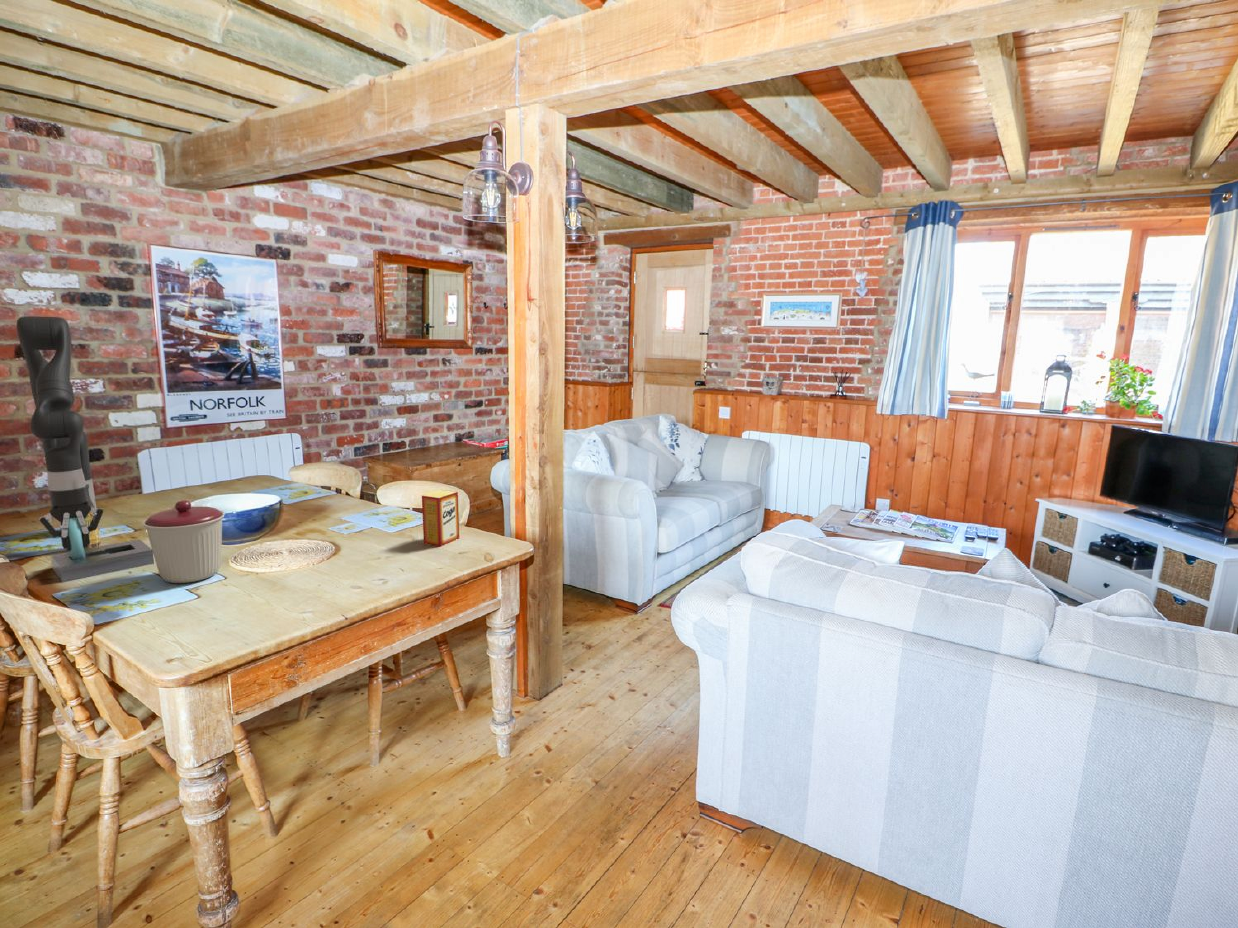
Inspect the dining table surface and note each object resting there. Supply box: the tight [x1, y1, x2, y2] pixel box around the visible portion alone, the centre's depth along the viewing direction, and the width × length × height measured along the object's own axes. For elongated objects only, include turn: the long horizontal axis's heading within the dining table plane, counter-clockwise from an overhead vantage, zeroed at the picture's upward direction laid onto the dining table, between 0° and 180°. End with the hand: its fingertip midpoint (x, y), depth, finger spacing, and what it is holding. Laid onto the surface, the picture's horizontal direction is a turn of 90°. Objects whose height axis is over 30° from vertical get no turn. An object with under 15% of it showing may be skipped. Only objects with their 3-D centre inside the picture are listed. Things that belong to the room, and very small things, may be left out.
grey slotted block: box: [50, 538, 155, 583], centre depth 179 cm, size 14×20×4 cm
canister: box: [141, 500, 226, 584], centre depth 171 cm, size 18×18×21 cm
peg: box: [67, 517, 86, 560], centre depth 174 cm, size 5×5×15 cm
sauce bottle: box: [84, 483, 101, 549], centre depth 192 cm, size 6×6×20 cm
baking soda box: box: [421, 489, 460, 548], centre depth 205 cm, size 10×6×16 cm
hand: (76, 547), depth 175 cm, fingers closed on peg, 3 cm apart
